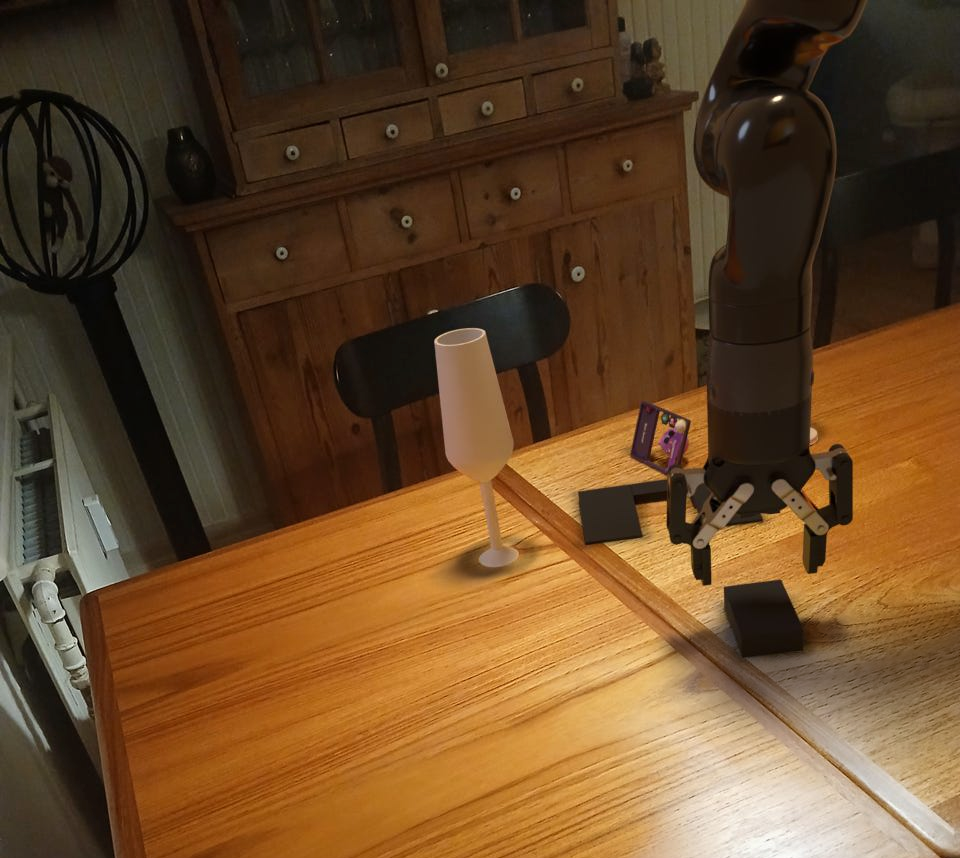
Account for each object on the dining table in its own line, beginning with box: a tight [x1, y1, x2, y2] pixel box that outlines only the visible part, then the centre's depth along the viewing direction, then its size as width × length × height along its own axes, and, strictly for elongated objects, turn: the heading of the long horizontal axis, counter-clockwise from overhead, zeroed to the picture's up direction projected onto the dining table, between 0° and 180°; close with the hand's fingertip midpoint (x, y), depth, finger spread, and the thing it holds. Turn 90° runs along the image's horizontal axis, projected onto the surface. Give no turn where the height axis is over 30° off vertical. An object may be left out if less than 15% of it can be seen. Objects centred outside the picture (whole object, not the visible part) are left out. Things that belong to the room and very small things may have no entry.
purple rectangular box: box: [629, 400, 692, 475], centre depth 115 cm, size 7×5×9 cm
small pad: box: [723, 578, 805, 659], centre depth 84 cm, size 5×8×3 cm, turn 179°
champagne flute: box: [433, 327, 520, 568], centre depth 96 cm, size 7×7×24 cm
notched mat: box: [577, 478, 764, 546], centre depth 105 cm, size 18×12×1 cm, turn 89°
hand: (756, 575), depth 82 cm, fingers open, 8 cm apart
